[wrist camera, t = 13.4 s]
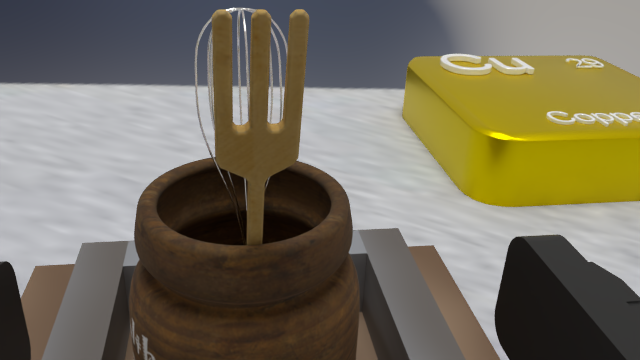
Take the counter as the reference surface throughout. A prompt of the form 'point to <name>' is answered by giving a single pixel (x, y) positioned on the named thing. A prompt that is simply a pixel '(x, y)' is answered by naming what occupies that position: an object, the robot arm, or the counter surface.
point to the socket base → (374, 315)
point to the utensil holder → (246, 228)
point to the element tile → (529, 127)
